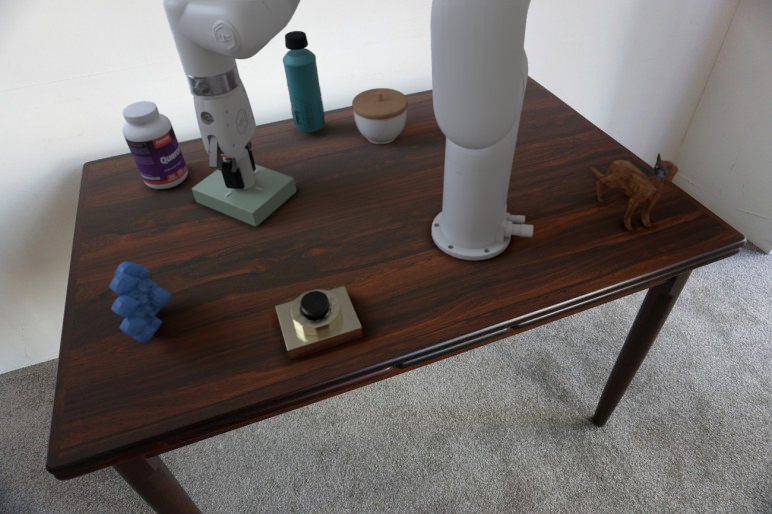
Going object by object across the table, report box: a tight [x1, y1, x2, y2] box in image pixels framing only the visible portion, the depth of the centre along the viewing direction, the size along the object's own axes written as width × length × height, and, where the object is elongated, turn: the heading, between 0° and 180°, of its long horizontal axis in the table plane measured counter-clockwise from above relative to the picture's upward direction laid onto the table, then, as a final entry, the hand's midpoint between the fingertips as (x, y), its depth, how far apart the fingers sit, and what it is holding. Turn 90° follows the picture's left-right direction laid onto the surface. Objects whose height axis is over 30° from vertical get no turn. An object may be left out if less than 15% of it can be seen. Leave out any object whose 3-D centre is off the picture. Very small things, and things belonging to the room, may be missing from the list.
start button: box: [301, 291, 330, 320], centre depth 69 cm, size 4×4×2 cm
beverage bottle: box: [282, 30, 326, 133], centre depth 101 cm, size 6×7×20 cm
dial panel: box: [191, 163, 297, 228], centre depth 92 cm, size 14×11×3 cm
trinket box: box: [351, 87, 409, 145], centre depth 103 cm, size 11×11×9 cm
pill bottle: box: [121, 100, 189, 190], centre depth 93 cm, size 8×8×14 cm
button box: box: [274, 285, 364, 361], centre depth 70 cm, size 10×8×4 cm
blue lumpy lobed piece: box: [108, 260, 172, 344], centre depth 68 cm, size 12×7×12 cm, turn 14°
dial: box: [223, 148, 255, 190], centre depth 89 cm, size 4×4×6 cm
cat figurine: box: [590, 153, 679, 231], centre depth 83 cm, size 18×7×14 cm, turn 13°
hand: (241, 177), depth 90 cm, fingers closed on dial, 4 cm apart
